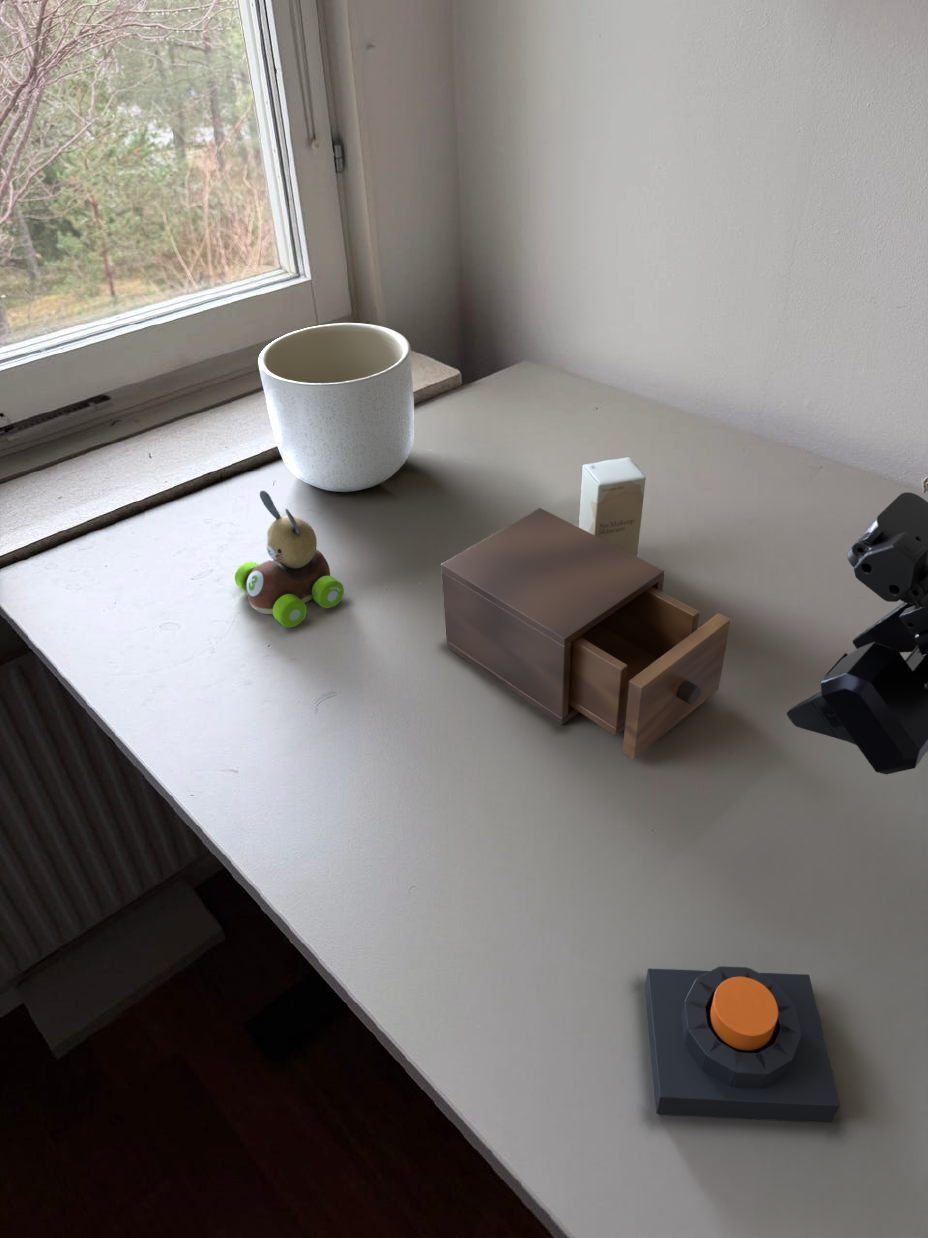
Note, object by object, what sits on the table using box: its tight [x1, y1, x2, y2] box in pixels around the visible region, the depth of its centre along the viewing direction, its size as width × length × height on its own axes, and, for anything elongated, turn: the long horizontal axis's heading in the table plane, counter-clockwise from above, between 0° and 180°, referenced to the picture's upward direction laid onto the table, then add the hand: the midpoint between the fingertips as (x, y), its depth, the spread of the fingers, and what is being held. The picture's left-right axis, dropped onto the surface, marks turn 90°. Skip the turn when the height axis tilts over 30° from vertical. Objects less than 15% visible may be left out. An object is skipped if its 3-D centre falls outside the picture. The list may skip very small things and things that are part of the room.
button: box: [710, 977, 778, 1051], centre depth 54 cm, size 4×4×2 cm
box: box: [578, 456, 647, 557], centre depth 94 cm, size 5×4×11 cm
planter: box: [257, 322, 415, 493], centre depth 109 cm, size 17×17×15 cm
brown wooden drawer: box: [568, 587, 732, 760], centre depth 79 cm, size 15×11×8 cm
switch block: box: [644, 965, 841, 1124], centre depth 56 cm, size 10×8×4 cm
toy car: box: [234, 490, 345, 628], centre depth 91 cm, size 9×9×11 cm
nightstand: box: [440, 507, 665, 726], centre depth 84 cm, size 15×13×10 cm
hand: (825, 680), depth 62 cm, fingers open, 9 cm apart
